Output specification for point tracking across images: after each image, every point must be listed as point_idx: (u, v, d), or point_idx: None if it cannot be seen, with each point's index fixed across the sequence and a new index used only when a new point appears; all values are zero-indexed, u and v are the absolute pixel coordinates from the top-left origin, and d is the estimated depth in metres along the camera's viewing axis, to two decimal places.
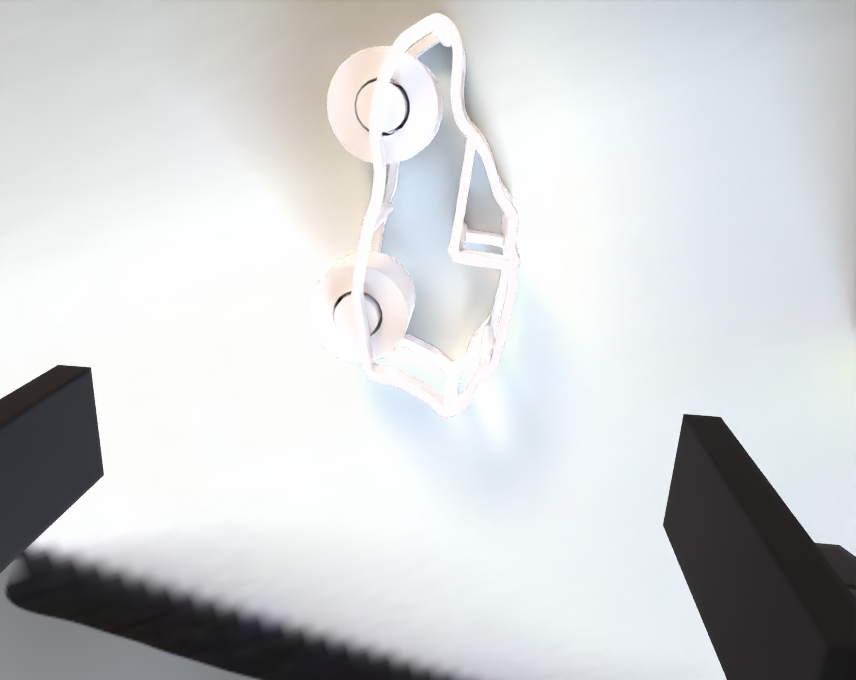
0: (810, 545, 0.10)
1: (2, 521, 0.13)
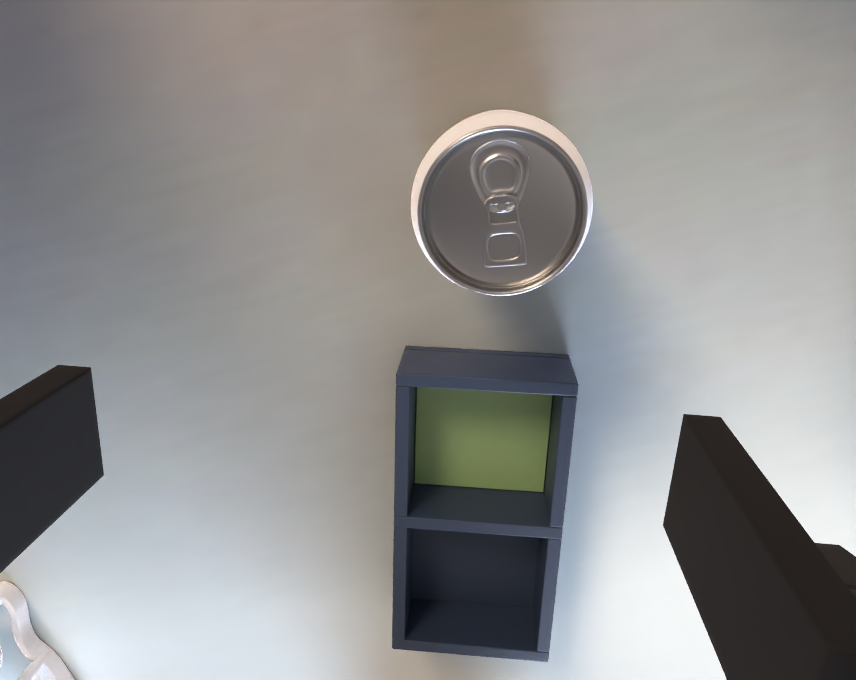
0: (810, 545, 0.10)
1: (2, 521, 0.13)
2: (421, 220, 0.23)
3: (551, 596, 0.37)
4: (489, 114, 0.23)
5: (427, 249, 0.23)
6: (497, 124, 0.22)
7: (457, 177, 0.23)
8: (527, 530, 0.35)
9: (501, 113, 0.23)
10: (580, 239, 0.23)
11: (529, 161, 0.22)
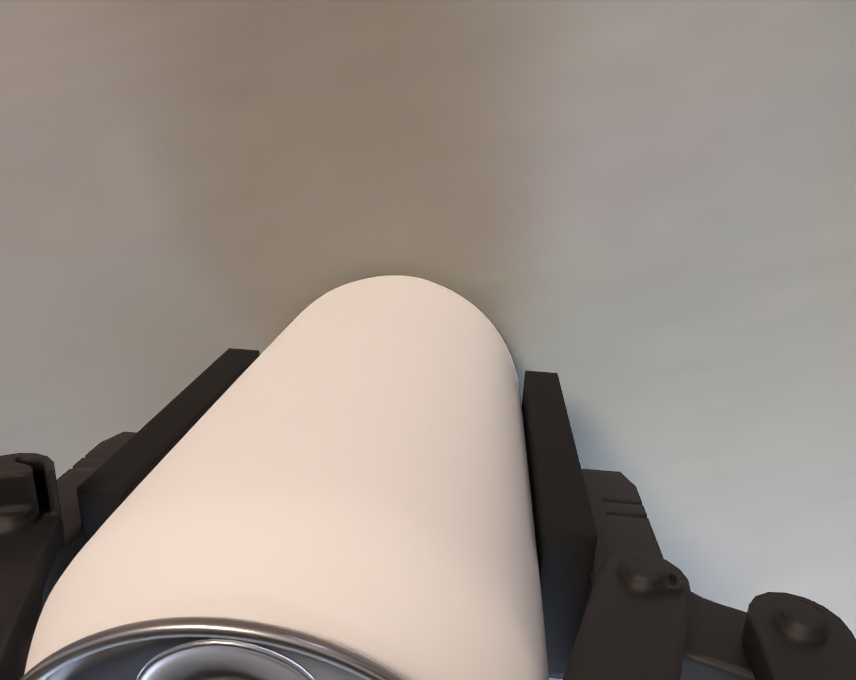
0: (575, 465, 0.12)
1: None
2: None
3: None
4: (223, 500, 0.07)
5: None
6: (224, 570, 0.07)
7: None
8: None
9: (259, 501, 0.07)
10: None
11: None
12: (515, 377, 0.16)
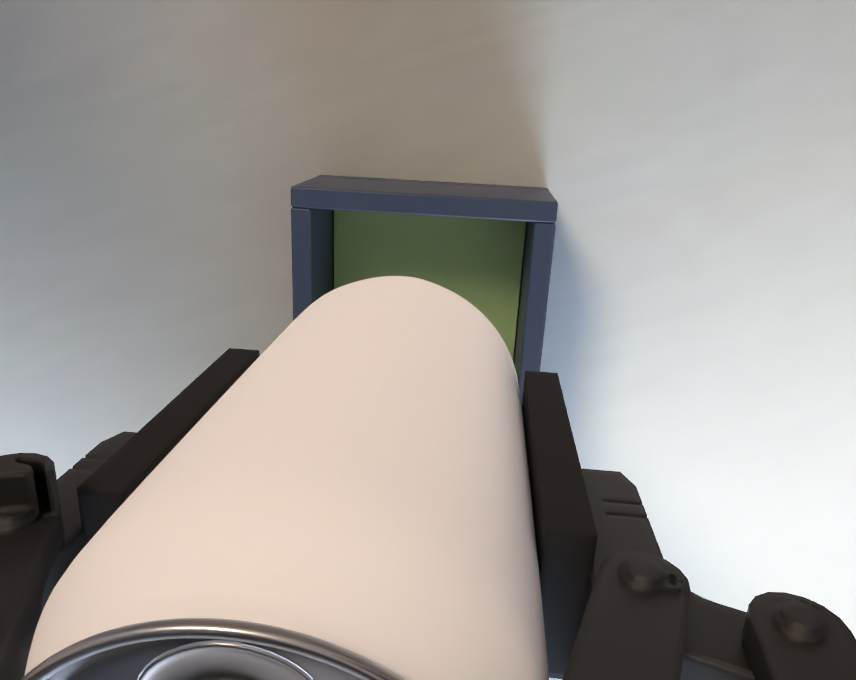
0: (575, 465, 0.12)
1: None
2: None
3: None
4: (223, 501, 0.07)
5: None
6: (224, 572, 0.07)
7: None
8: None
9: (259, 502, 0.07)
10: None
11: None
12: (515, 378, 0.16)
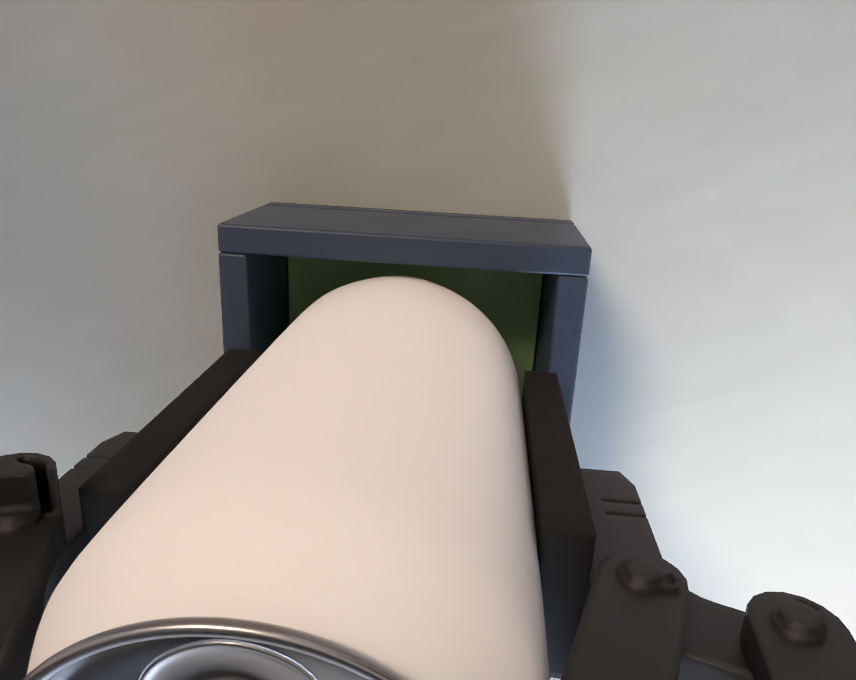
0: (574, 465, 0.12)
1: None
2: None
3: None
4: (225, 501, 0.07)
5: None
6: (226, 571, 0.07)
7: None
8: None
9: (261, 501, 0.07)
10: None
11: None
12: (516, 377, 0.16)
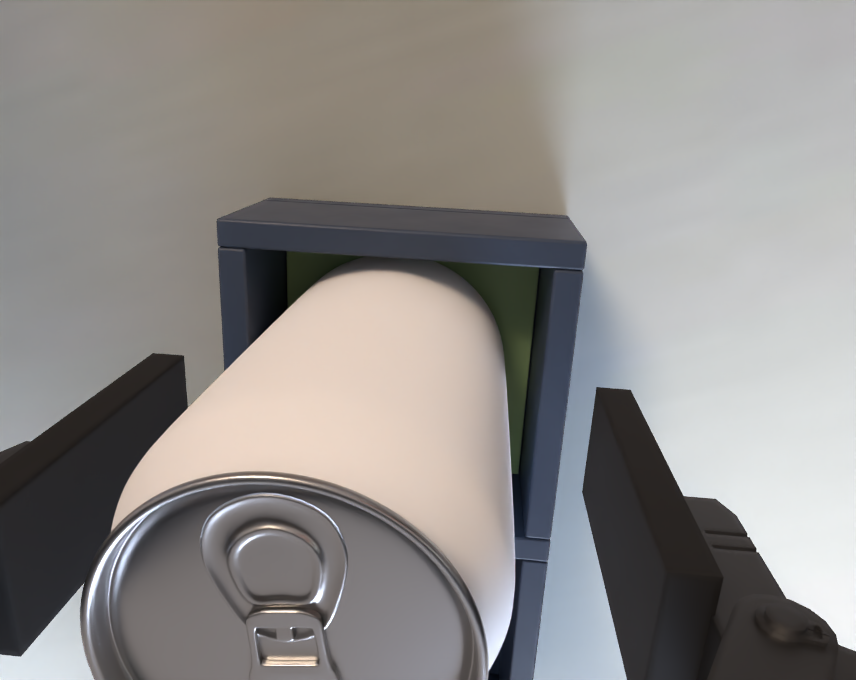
0: (677, 494, 0.11)
1: (119, 496, 0.13)
2: (94, 656, 0.09)
3: (527, 666, 0.20)
4: (263, 401, 0.10)
5: None
6: (267, 446, 0.09)
7: (175, 565, 0.09)
8: None
9: (291, 401, 0.10)
10: None
11: (343, 544, 0.09)
12: (499, 340, 0.18)
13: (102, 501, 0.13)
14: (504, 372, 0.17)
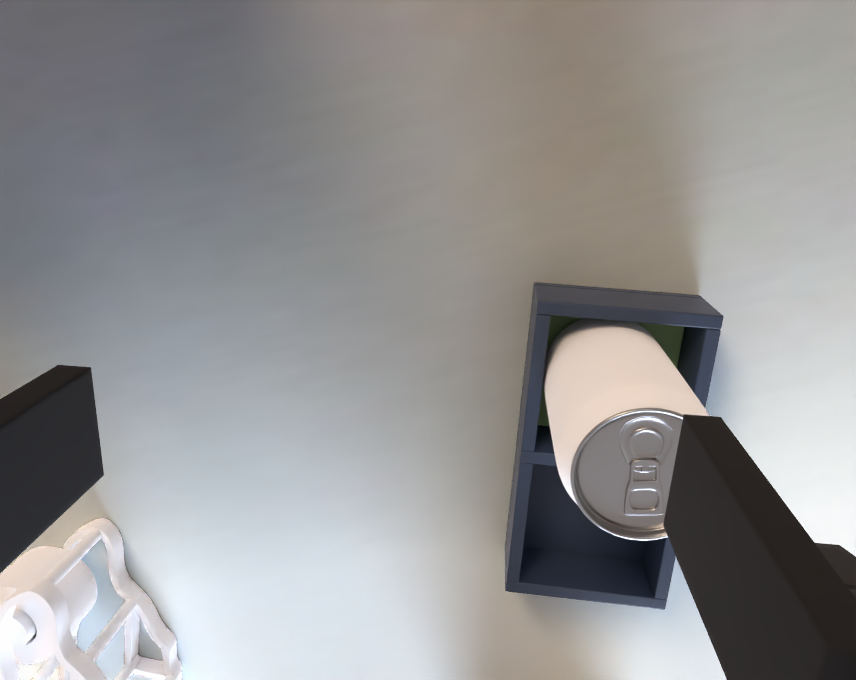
0: (810, 545, 0.10)
1: (2, 521, 0.13)
2: (573, 477, 0.26)
3: None
4: (635, 385, 0.26)
5: (576, 500, 0.26)
6: (645, 400, 0.26)
7: (607, 443, 0.26)
8: None
9: (645, 385, 0.26)
10: None
11: (672, 435, 0.26)
12: None
13: None
14: None
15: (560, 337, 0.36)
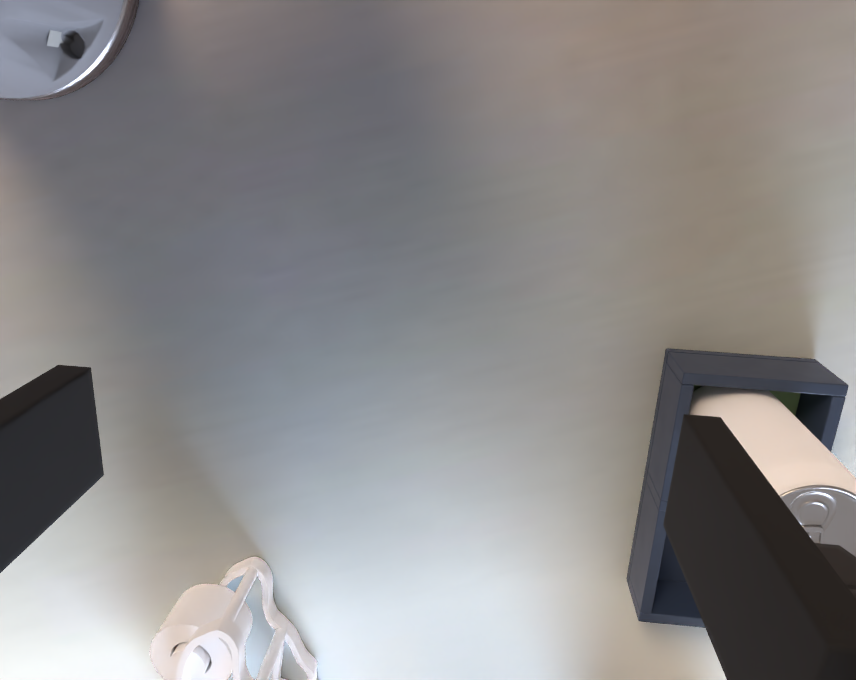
0: (810, 545, 0.10)
1: (2, 521, 0.13)
2: None
3: None
4: (800, 462, 0.31)
5: None
6: (812, 477, 0.30)
7: None
8: None
9: (809, 462, 0.31)
10: None
11: (837, 506, 0.30)
12: None
13: None
14: None
15: (694, 399, 0.40)
